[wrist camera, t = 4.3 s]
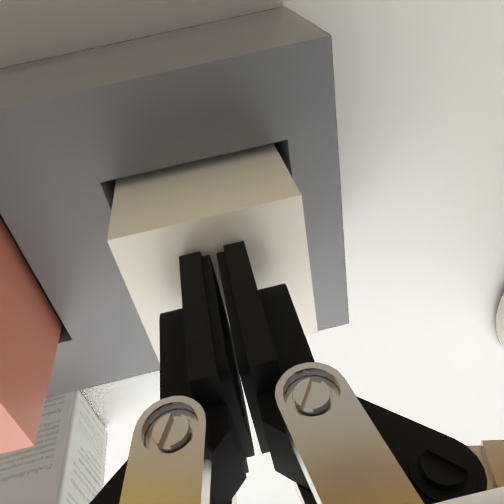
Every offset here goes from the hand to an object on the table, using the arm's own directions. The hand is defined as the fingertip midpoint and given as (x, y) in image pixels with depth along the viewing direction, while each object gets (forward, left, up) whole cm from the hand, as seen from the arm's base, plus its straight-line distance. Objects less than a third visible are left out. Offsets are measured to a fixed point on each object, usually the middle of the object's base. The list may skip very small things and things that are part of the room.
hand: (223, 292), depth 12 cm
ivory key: (0, 0, -5) cm, 5 cm away
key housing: (+4, 0, -8) cm, 9 cm away
